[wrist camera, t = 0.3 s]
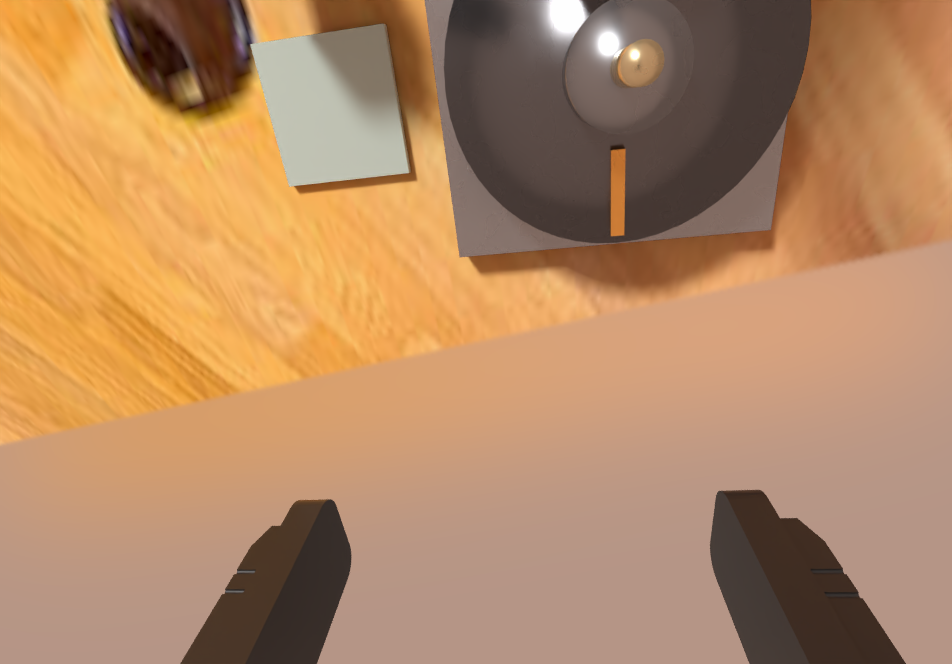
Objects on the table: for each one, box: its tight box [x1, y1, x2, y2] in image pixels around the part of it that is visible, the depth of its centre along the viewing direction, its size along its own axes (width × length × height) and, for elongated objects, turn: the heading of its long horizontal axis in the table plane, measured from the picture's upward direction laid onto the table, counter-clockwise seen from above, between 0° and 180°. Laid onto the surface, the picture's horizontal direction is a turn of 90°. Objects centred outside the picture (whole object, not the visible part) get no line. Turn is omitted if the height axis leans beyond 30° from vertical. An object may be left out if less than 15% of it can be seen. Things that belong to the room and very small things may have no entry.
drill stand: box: [425, 0, 788, 257], centre depth 30 cm, size 21×21×2 cm
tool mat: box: [250, 23, 411, 187], centre depth 33 cm, size 9×9×1 cm
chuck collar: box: [444, 0, 811, 243], centre depth 24 cm, size 20×19×9 cm
